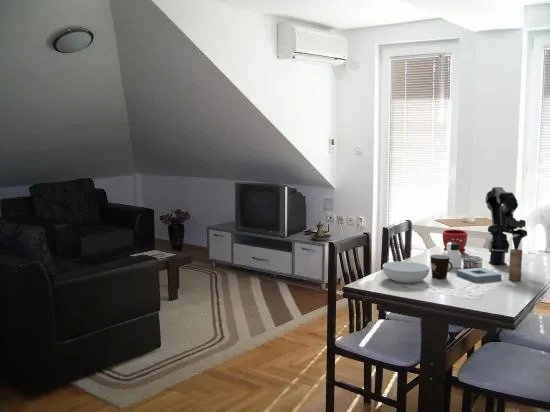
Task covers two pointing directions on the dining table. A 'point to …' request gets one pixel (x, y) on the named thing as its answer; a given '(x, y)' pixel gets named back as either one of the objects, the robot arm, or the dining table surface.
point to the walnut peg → (515, 265)
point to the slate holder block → (479, 274)
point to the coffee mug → (440, 266)
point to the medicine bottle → (453, 255)
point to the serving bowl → (406, 271)
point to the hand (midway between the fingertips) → (508, 248)
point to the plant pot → (455, 238)
